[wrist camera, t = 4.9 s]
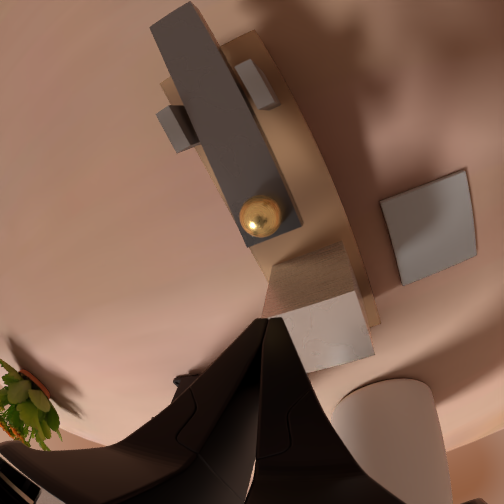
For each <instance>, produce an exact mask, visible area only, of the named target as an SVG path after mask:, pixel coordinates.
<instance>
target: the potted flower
mask: <svg viewBox="0 0 504 504" xmlns="http://www.w3.org/2000/svg"><path fill="white" fill-rule="evenodd" d="M0 364H2V366H1V367H4V368H5V369H6V370H7V371H8V372H9V373H8V374H5V376H2V379H3V381H5V382H4V384H6V385H8V387H7V386H5V387H4V388H5V389H4V388H3V389H1V390H0V412H2V411H3V410H5V409H4V406H5V405H7V404H10V405H11V406H10V407H9V409H7V410H6V411H5V412H4V413H0V414H3V415H0V427H2V428H3V431H6V433H8V435H9V436H10V437H11V438H13V439H14V437H15V436H16V437H17V438H16V437H15V439H14V440H19V441H21V442H22V443H23V444H25V445H26V446H28V447H31V446H30V444H29V442H30V439H31V436H32V438H34V434H35V433H36V434H35V437H36V441H37V442H38V443H39V445H40V447H41V448H42V449H43V450H44V451H46V450H47V451H51V450H50V449H49V448H48V447H47V446H46V445H45V444H44V442H43V441H44V440H45V439H46V438H47V439H50V437H51V431H50V428H51V429H52V430H53V431H55V432H57V433H58V435H59V438H60V439H61V441H62V437H61V434H60V432H59V430H58V428H59V425H60V421H59V416H58V414H57V412H56V410H55V408H54V407H53V405H52V403H51V402H50V401H49V398H50V394H49V391H48V390H47V389H46V388H45V386H44V385H43V384H42V383H41V382H40V381H39V380H38V379H37V378H36V377H34V376H33V375H32V374H31V373H29V372H28V371H26V370H23V369H22V370H20V371H19V372H17V371H16V370H15V369H14V368H13V367H11V366H10V365H9V364H7V363H6V362H4V361H3V360H2V359H0ZM1 409H2V411H1ZM7 411H8V412H7ZM6 412H7V413H6ZM5 413H6V414H5ZM6 415H8V416H6ZM2 416H3V417H2ZM5 417H6V419H5ZM5 420H6V421H7V422H8V421H9V424H8V425H9V426H7V422H5ZM24 424H25V427H24V428H23V426H24ZM29 426H31V427H32V431H30V432H32V433H31V436H30V439H29V441H28V442H26V441H25V438H26V437H27V434H28V431H29V430H28V427H29ZM9 428H10V429H9ZM25 428H26V429H25ZM24 437H25V438H24ZM45 437H46V438H45Z"/></svg>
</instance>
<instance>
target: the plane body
mask: <svg viewBox="0 0 504 504" xmlns="http://www.w3.org/2000/svg"><path fill="white" fill-rule="evenodd" d="M220 47H221V49H222V51H223V53H224V55H225V56H226V58H227V60H228V62H229V64H230V66H231V68H232V69H233V71H234V73H235V75H236V77H237V79H238V81H239V83H240V85H241V87H242V89H243V91H244V93H245V94H246V96H247V98H248V100H249V102H250V104H251V106H252V108H253V110H254V112H255V114H256V117H257V119H258V121H259V123H260V125H261V127H262V129H263V131H264V133H265V135H266V137H267V139H268V142H269V144H270V146H271V148H272V150H273V152H274V154H275V157H276V159H277V161H278V163H279V165H280V168H281V170H282V172H283V174H284V177H285V179H286V181H287V183H288V186H289V188H290V190H291V193H292V195H293V197H294V199H295V202H296V204H297V207H298V209H299V211H300V214H301V216H302V218H303V221H304V223H303V225H302V227H300V228H297V229H295V230H292V231H289V232H287V233H284V234H282V235H279V236H276V237H274V238H271V239H269V240H266V241H264V242H261V243H258V244H256V245H253V246H251V247H249V248H250V250H251V252H252V254H253V256H254V257H255V259H256V261H257V263H258V265H259V266H260V268H261V270H262V272H263V274H264V276H265V277H266V279H267V281H268V283H269V279H270V274H271V270H272V266H273V265H276V264H279V263H282V262H284V261H287V260H290V259H293V258H296V257H298V256H301V255H304V254H307V253H309V252H312V251H315V250H318V249H320V248H323V247H326V246H329V245H331V244H334V243H337V242H339V241H342V242H343V244H344V247H345V250H346V252H347V255H348V258H349V261H350V263H351V266H352V269H353V272H354V275H355V278H356V280H357V283H358V286H359V289H360V292H361V295H362V298H363V303H364V307H365V311H366V315H367V319H368V324H369V327H372V326H375V325H378V324H381V321H380V318H379V314H378V310H377V307H376V303H375V300H374V296H373V293H372V289H371V286H370V283H369V280H368V276H367V273H366V270H365V267H364V264H363V261H362V258H361V255H360V252H359V249H358V246H357V243H356V240H355V237H354V235H353V232H352V229H351V226H350V224H349V221H348V218H347V216H346V213H345V210H344V208H343V205H342V203H341V200H340V198H339V195H338V193H337V190H336V188H335V185H334V183H333V180H332V178H331V176H330V173H329V171H328V169H327V166H326V164H325V162H324V159H323V157H322V155H321V153H320V151H319V148H318V146H317V144H316V142H315V140H314V137H313V135H312V133H311V131H310V129H309V127H308V125H307V123H306V121H305V119H304V117H303V115H302V113H301V111H300V109H299V107H298V105H297V103H296V101H295V99H294V97H293V95H292V93H291V91H290V90H289V88H288V86H287V84H286V82H285V80H284V79H283V77H282V75H281V73H280V71H279V70H278V68H277V66H276V64H275V63H274V61H273V59H272V57H271V56H270V54H269V52H268V51H267V49H266V47H265V46H264V44H263V42H262V41H261V39H260V37H259V36H258V34H257V33H256V31H255V30H252V31H250V32H248V33H246V34H244V35H242V36H240V37H238V38H236V39H234V40H232V41H230V42H228V43H226V44H224V45H222V46H220ZM160 85H161V87H162V89H163V91H164V93H165V94H166V96H167V98H168V100H169V102H170V104H171V105H168V106H167V107H165V108H164V109H162V110H161V111H160V112H158V113H157V114H156V116H157V118H158V120H159V122H160V123H161V125H162V127H163V129H164V131H165V133H166V134H167V136H168V138H169V140H170V142H171V144H172V145H173V147H174V149H175V151H176V153H179V152H182V151H184V150H187V149H190V148H192V147H194V148H195V149H196V151H197V153H198V155H199V157H200V159H201V160H202V162H203V164H204V166H205V168H206V169H207V171H208V173H209V175H210V177H211V179H212V180H213V182H214V184H215V186H216V188H217V190H218V191H219V193H220V195H221V197H222V199H223V201H224V202H225V204H226V206H227V208H228V210H229V212H230V213H231V215H232V212H231V210H230V208H229V206H228V204H227V201H226V199H225V197H224V195H223V192H222V190H221V188H220V186H219V183H218V181H217V179H216V177H215V174H214V172H213V170H212V168H211V165H210V163H209V161H208V159H207V156H206V154H205V152H204V150H203V147H202V145H201V143H200V141H199V138H198V136H197V134H196V132H195V129H194V127H193V125H192V123H191V120H190V118H189V116H188V114H187V111H186V109H185V107H184V105H183V102H182V100H181V98H180V96H179V93H178V91H177V89H176V86H175V84H174V82H173V80H172V77H171V76H170V77H169V78H167V79H166V80H164V81H163V82H162V83H160ZM232 217H233V215H232ZM233 219H234V217H233ZM234 221H235V219H234ZM235 223H236V221H235Z"/></svg>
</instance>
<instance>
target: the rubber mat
mask: <svg viewBox="0 0 504 504" xmlns="http://www.w3.org/2000/svg"><path fill="white" fill-rule="evenodd" d="M379 202H380V205H381V208H382V211H383V214H384V218H385V221H386V224H387V228H388V231H389V235H390V238H391V242H392V246H393V249H394V253H395V257H396V261H397V265H398V270H399V274H400V278H401V283H402V285H403V286H405V285H407V284H410V283H412V282H415V281H417V280H420V279H423V278H425V277H427V276H430V275H432V274H435V273H437V272H440V271H442V270H444V269H447V268H449V267H451V266H454V265H456V264H458V263H461V262H463V261H465V260H467V259H470V258H472V257H474V256H476V255H477V253H476V240H475V229H474V220H473V212H472V205H471V199H470V193H469V187H468V182H467V177H466V172H465V171H464V170H461V171H458V172H456V173H453V174H450V175H448V176H445V177H443V178H440V179H437V180H435V181H432V182H429V183H427V184H424V185H421V186H419V187H416V188H414V189H411V190H408V191H406V192H403V193H400V194H398V195H395V196H392V197H390V198H387V199H385V200H382V201H379Z"/></svg>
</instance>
